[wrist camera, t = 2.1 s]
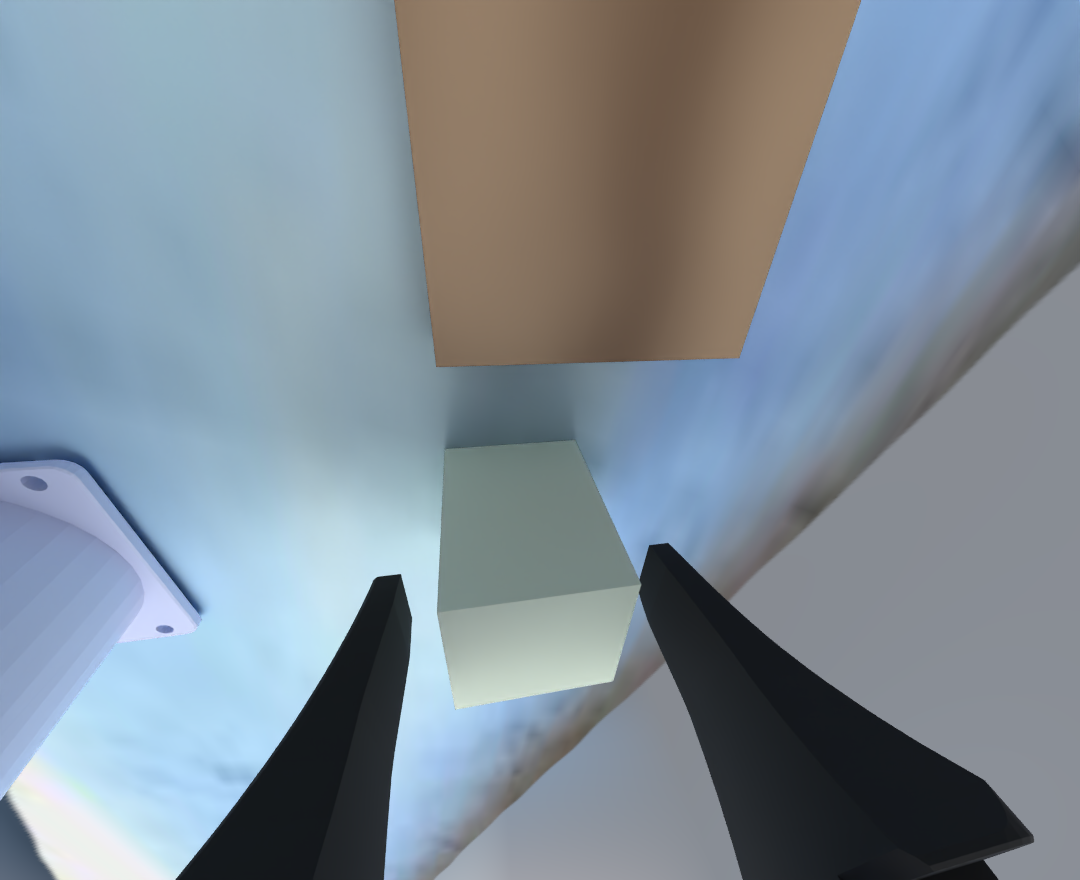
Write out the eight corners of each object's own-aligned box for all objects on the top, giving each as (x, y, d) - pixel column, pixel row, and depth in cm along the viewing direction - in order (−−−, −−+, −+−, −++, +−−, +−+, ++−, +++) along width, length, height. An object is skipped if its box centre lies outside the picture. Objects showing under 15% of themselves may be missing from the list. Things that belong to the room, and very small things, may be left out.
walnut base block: (440, 333, 11) (436, 367, 9) (393, -116, 7) (366, -247, 5) (692, 329, 12) (738, 358, 10) (791, -47, 8) (904, -127, 6)
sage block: (455, 540, 15) (455, 709, 10) (444, 448, 13) (436, 612, 8) (565, 528, 16) (612, 680, 11) (574, 439, 14) (641, 584, 9)
